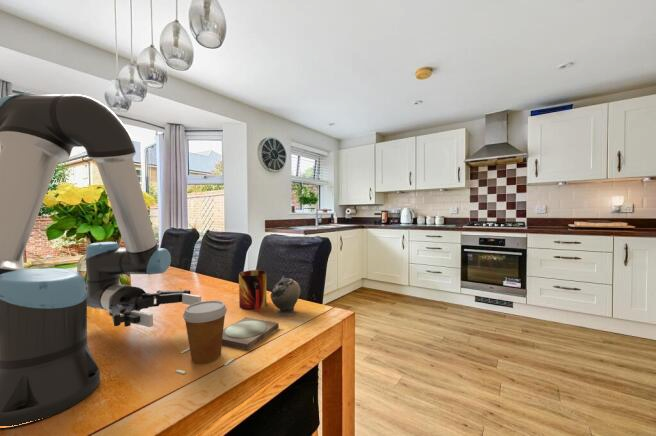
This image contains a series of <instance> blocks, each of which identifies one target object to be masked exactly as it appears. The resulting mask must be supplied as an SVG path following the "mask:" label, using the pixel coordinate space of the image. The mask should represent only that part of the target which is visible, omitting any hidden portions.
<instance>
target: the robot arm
mask: <svg viewBox="0 0 656 436" xmlns="http://www.w3.org/2000/svg"><path fill="white" fill-rule="evenodd" d="M0 146H1V147H2V148H1V150H0V426H12V425H13V426H14V425H19V424H22V423H26V422H30V421H35V420H38V419H42V418H45V419H47V418H49V417H48V416H50V417H52V416H55V415H57V414H60V413H62V412H64V411H65V410H67V409H69V408H71V407H73V406H75V405H76V404H78V403H80V402H81V401H83V400H85V398H87V397H88V396H90V395H91V394H92V393H93V392H94V391H95V390H96V389H97V388H98V387H99V384H100V382H101V379H100V376H101V375H100V374H101V373H100V368H99V365H98V363H97V362H96V359H95V357H94V356H93V354H92V352H91V350H90V348H89V346H88V309H87V307H88V306H89V307H90V308H92V309H97V310H98V309H99V310H105V311H108V315H109V316H110V317H112V321H113V326H114V327H119V326H121V324H122V323H124V325H123V327H129V326H131V324H135V325H140V326H144V327H148V328H151V327H153V326H154V317H153V316H154V314H152V313H148V312H144V311H141V310H145V309H149V308H153V307H154V308H155V307H159V306H160V305H166V304H168V305H169V304H177V303H182V304H183V305H188V306H189V305H192V304H194V303H198V302H202V296H201V295H196V294H191V290H190V289H189V290H186V289H183V290H156V292H154V293H153V292H152V293H149V292H146V291H145V290H144V289H143V288H141V287H138V286H132V285H128V284H127V285H126V284H121V282H120V281H121V280H120V279H121V275H123V276H124V275H149V276H150V275H158V274H164V273H165V272H167V270H168V269H169V268H170V265H171V262H172V257H171V253H170V251H169V250H168V249H167V248H162V247H159V245H158V242H157V239H156V235H155V232H154V229H153V226H152V221H151V218H150V216H149V215H150V214H149V211H148V207H147V204H146V200H145V197H144V194H143V190H142V186H141V182H140V179H139V176H138V172H137V169H136V165H135V161H134V157H135V155H136V154H137V152H136V149H135V145H134V141H133V139H132V137H131V135H130V133H129V131H128V130H127V128H126V127H125V125H124V123H123V122H122V120H121V119H120V118H119V117H118V115H116V114H115V113H114V112H113V110H111V109H110V108H109V107H108V106H107V105H105V104H103V103H102V102H101V101H99V100H97V99H94V98H92V97H90V96H87V95H82V94H78V93H75V94H74V93H71V94H70V93H68V94H59V93H58V94H50V93H49V94H44V93H41V94H39V93H38V94H37V93H34V94H33V93H17V94H9V95H5V96H3V97H0ZM74 147H75V148H77V147H83V148H84V149H85V152H86V154H87V156H88V158H89V159H91V160H93V161H94V163H96V166H97V169H98V172H99V175H100V178H101V181H102V183H103V187H104V190H105V192H106V195H107V198H108V201H109V204H110V207H111V210H112V212H113V216H114V219H115V221H116V224H117V228H118V231H119V233H120V235H121V238H122V242H123V244H124V248H120V247H119V243H118V242H117V241H101V242H93V243H89V244H87V246H86V247H85V266H86V267H85V268H86V271H85V272H86V280H87V281H86V280H85V277H84V275H83V274H82V273H80V272H78V271H76V270H74V269H69V268H57V267H56V268H55V267H51V268H50V267H45V268H26V269H25V267H23V265H22V263H21V261H22V259H23V256H24V253H25V251H26V248H27V245H28V243H29V240H30V238H31V234H32V232H33V230H34V226H35V224H36V222H37V219H38V217H39V216H38V215H39V213H40V211H41V208H42V206H43V203H44V200H45V198H46V194H47V191H48V189H49V188H50V187H49V186H50V184H51V182H52V178H53V176H54V173H55V170H56V169H57V166H58V164H61V163H65V162H67V161H68V160H69V159H70V157H71V153H72V150H73V148H74ZM63 410H64V411H63ZM56 413H57V414H56ZM54 414H55V415H54ZM46 417H47V418H46ZM42 420H43V419H42Z"/></svg>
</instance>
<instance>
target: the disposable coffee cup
mask: <svg viewBox="0 0 656 436" xmlns="http://www.w3.org/2000/svg"><path fill="white" fill-rule="evenodd" d="M227 311H228V307H227V306H226V303H225V302H224V301H221V300H204V301H203V300H202V301H201V302H198V303H194V304H192V305H188V306H185V308H184V312H183V313H182V318H183V320H184V322H185V328H186V334H187V339H188V346H189V347H188V348H190V350H189V352H190V357H191V362H192V363H193V364H197V365H202V364H203V365H204V364H208V363H211V362H215V360H217V359H219V358H220V356H221V353H222V337H223V329H225V328H224V327H225V325H224V324H225V320H226V319H225V316H226V314H227Z"/></svg>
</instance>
